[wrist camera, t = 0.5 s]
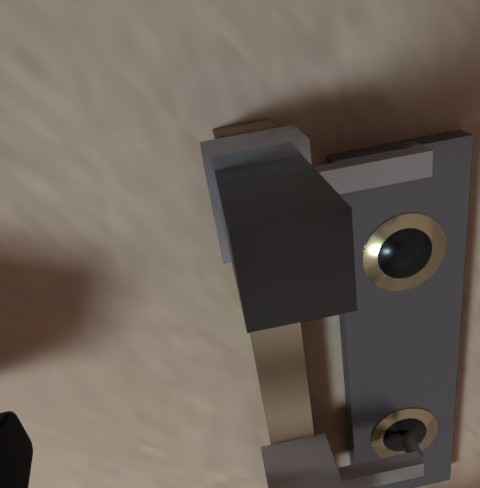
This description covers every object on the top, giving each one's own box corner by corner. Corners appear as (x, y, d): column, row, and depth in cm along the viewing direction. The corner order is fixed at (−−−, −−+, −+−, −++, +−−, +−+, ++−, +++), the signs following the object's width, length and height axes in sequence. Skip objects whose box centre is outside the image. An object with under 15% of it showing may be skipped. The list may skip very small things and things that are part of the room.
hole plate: (441, 465, 30) (450, 481, 29) (352, 485, 30) (358, 501, 29) (460, 130, 20) (474, 135, 19) (327, 155, 20) (335, 162, 19)
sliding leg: (418, 194, 20) (547, 286, 13) (218, 234, 19) (239, 350, 12) (419, 99, 18) (571, 145, 11) (199, 140, 18) (211, 214, 11)
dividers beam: (403, 484, 30) (446, 574, 25) (273, 512, 30) (292, 608, 25) (403, 93, 19) (480, 117, 14) (198, 132, 19) (204, 169, 14)
